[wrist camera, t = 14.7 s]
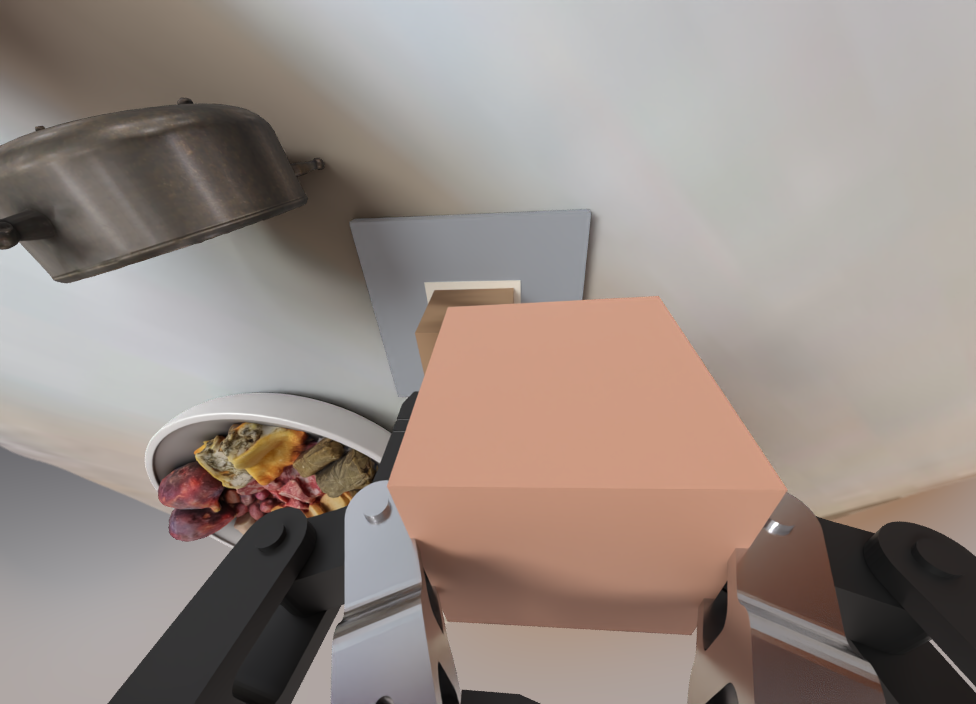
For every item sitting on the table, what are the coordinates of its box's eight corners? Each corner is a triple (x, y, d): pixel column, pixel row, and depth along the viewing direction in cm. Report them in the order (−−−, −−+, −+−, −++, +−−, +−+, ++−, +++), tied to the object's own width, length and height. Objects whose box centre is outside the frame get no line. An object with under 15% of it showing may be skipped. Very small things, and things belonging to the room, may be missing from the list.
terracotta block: (472, 440, 13) (447, 621, 9) (448, 307, 10) (386, 486, 5) (630, 439, 12) (691, 635, 8) (658, 296, 9) (787, 489, 5)
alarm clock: (211, 228, 25) (-145, 384, 12) (149, 140, 22) (-425, 216, 9) (351, 186, 22) (103, 323, 9) (304, 80, 19) (-165, 60, 6)
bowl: (408, 363, 31) (378, 434, 24) (470, 540, 48) (461, 608, 42) (119, 384, 35) (30, 448, 29) (270, 538, 52) (235, 599, 46)
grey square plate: (400, 390, 32) (397, 397, 31) (353, 219, 23) (348, 223, 23) (571, 392, 31) (572, 399, 30) (589, 209, 22) (591, 213, 21)
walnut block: (445, 353, 28) (430, 402, 24) (434, 290, 25) (414, 333, 20) (515, 353, 28) (513, 403, 23) (513, 287, 24) (511, 331, 20)
